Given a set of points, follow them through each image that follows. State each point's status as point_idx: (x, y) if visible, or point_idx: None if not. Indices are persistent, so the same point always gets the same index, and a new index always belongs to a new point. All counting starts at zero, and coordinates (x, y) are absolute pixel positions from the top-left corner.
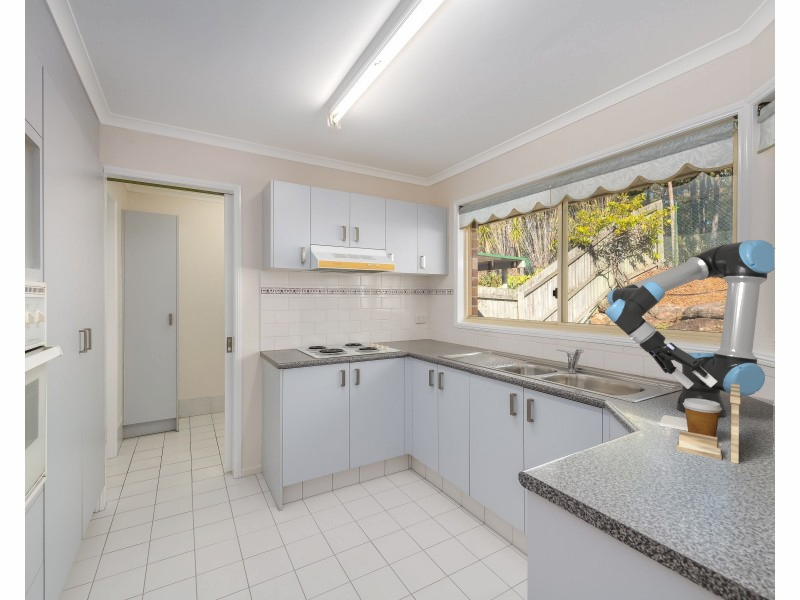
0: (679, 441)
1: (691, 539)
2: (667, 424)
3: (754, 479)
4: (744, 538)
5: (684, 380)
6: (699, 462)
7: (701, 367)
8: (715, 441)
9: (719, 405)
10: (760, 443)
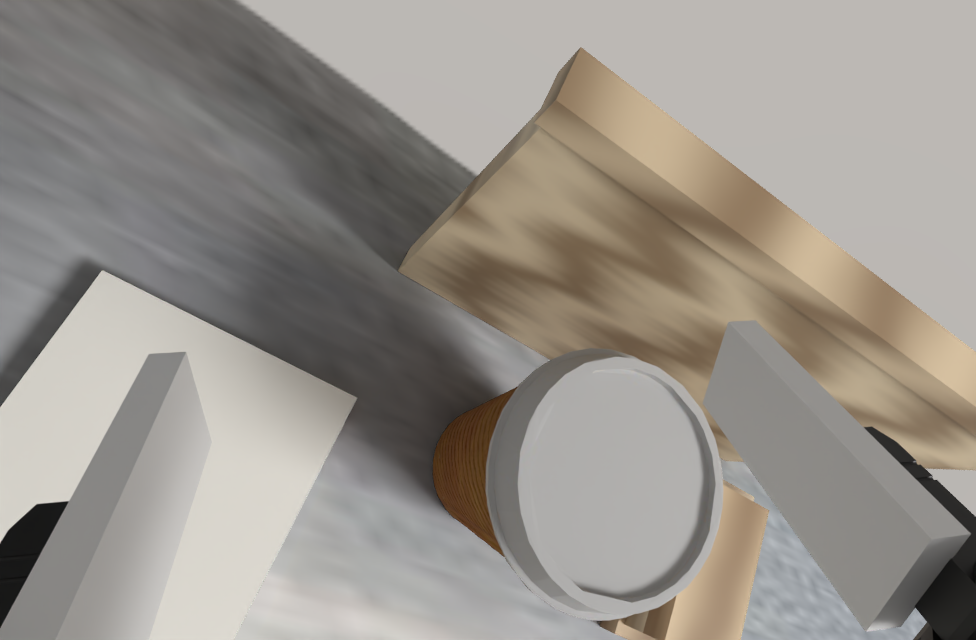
0: None
1: None
2: (250, 604)
3: None
4: None
5: (164, 487)
6: (767, 594)
7: (927, 492)
8: (763, 513)
9: (675, 381)
10: (448, 174)
